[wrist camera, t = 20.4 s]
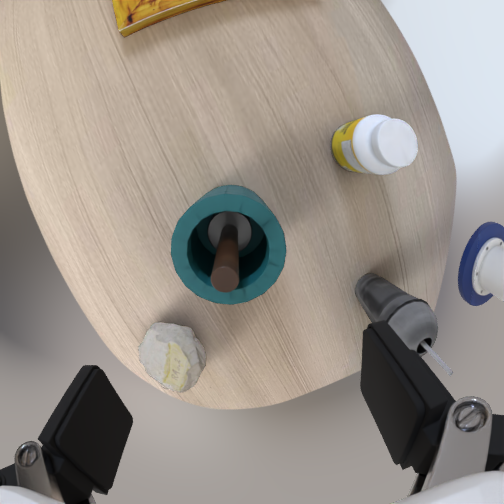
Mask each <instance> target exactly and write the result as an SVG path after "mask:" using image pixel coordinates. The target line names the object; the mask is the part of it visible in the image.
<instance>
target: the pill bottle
mask: <svg viewBox="0 0 504 504" xmlns="http://www.w3.org/2000/svg"><path fill="white" fill-rule="evenodd" d="M417 150H418V142H417V138H416V135H415V133H414V131H413V129H412V128H411V127H410V126H409V125H408V124H407V123H406V122H404V121H403V120H400V119H391V118H390V117H387V116H385V115H380V114H374V115H370V116H366V117H364V118H361V119H358V120H355V121H352V122H349V123H346V124H344V125H342V126H340V127H339V128H338V129H337V130H336V131H335V132H334V134H333V136H332V138H331V152H332V155H333V158H334V159H335V161H336V162H337V163H338V164H339V165H340V166H341V167H342V168H344V169H345V170H348V171H351V172H359V173H368V174H376V175H388V174H391V173H394V172H396V171H397V170H398V169H400V168H401V167H406V166H408V165H410V164H411V163H412V162H413V161H414V159H415V157H416V155H417Z"/></svg>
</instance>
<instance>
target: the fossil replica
mask: <svg viewBox="0 0 504 504" xmlns="http://www.w3.org/2000/svg"><path fill="white" fill-rule="evenodd" d="M138 350H139V358H140V362H141V363H142V364H143V365H144V367H145V370H146V372H147V373H148V374H149V376H150V377H152V378H154V379H155V380H157V381H158V382H159V383H160V384H161V386H162V387H163V388H164V389H170V390H172V391H177V392H184V391H187V390H189V389H190V388H192V387H193V386H194V385H195V384H196V382H197V380H198V378H199V376H200V374H201V372H202V371H203V369H204V367H205V366H206V352H205V350H204V348H203V346H202V344H201V343H200V342H199V340H198V339H197V338H196V336H195V334H194V331H193V330H192V329H191V328H190V327H187V326H180V325H176V324H173V323H171V324H167V323H162V322H155V323H154V324H152V325H151V327H150V328H149V329H148V331H147V332H146V336H145V337H144V340H143V342H142V343H141V344H140V345H139V349H138Z"/></svg>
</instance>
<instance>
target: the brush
mask: <svg viewBox="0 0 504 504" xmlns="http://www.w3.org/2000/svg"><path fill="white" fill-rule="evenodd" d="M207 232H208V238H209V241H210V243H211V245H212V246H213V247H214V248H215V249H216V250H217V252H216V257H215V261H214V265H213V270H212V274H211V283H212V286H213V287H214V288H215V289H216V290H217V291H219V292H223V293H227V292H231V291H233V290H234V289H235V288H236V287H237V286H238V284H239V252H240V251H242V250H243V249H245V248H246V247H247V245H248V244H249V242H250V240H251V237H252V227H251V223H250V219H249V217H248V216H246V215H244V214H242V213H240V212H231V211H223V212H218V213H215V214H214V215H213V217H212V219H211V221H210V223H209V226H208V231H207Z"/></svg>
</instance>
